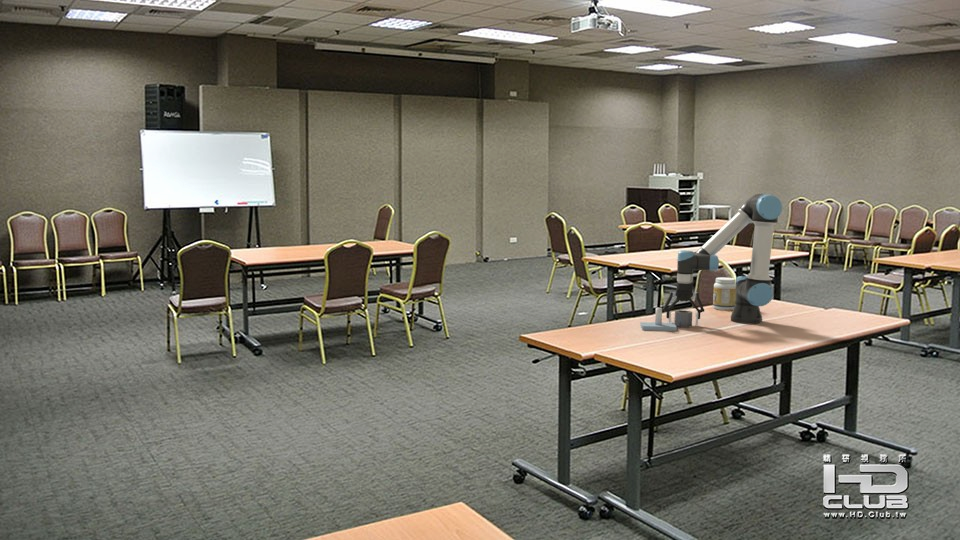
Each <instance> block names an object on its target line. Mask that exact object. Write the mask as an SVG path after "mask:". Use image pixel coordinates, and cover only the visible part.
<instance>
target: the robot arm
mask: <svg viewBox="0 0 960 540" xmlns="http://www.w3.org/2000/svg"><path fill="white" fill-rule="evenodd" d="M782 212H783V203H782V201H781V200H780V199H779V198H778V197H777V196H776V195H773V194H770V193H768V194H767V193H757V194H754V195H752V196H751V197H750V198H749V199H748V200H746V201H745V202H744V203H743V204H742V205H741V206H740V207H739V208H737V213H735V215H733V217H732V218H730V220H729V221H727V222H726V223H725V224H724V225H723V226H722V227H721V228H720V229H719V230H718V231H716V233H715V234H714V235H712V236H711V237H710V238H709V239H708V240H707V241H706V242H705V243H704V244H703V245H702V246H701V247H700V248H699V249H697V250H696V251H693V250H679V251H678V253H677V260H676V261H677V269H676V270H677V272H676V275H677V276H676V281H677V282H676V291H675V292H674V291H669V295H668V298H667V299H666V301H665V304H664V305H663V306H662V311H663V312H666V319H668V322H667V323H672V321H671V320H672V312H671V311H672V310H673V308H674V307H675V306H676V305H677V304H678V303H679V302H690V303H691V305H692V306H693V307H694V308H695V309H694V310H696V311H695V320H694V323H695V326H696V327H698V325H699V320H700V319H701V313H704V312H705V307H703V304H702V302H701V298H700V293H699V291H698V292H697V291H696V292H693V281H694V271H710V272H711V271H717V270H718V269H719V263H720V260H719V257H718V255H717V254H718V253H719V252H720V251H721V250H722V249H723V248H724V247H725V246H726V245H727V244H728V243H729V242H730V241H732V239H733V238H735V236H737V235H738V234H739V233H741V231H742V230H743V229H744V228H745V227H747V226H748V225H749V224H753V225H754V232H753V241H752V250H751V259H750V269H749V274H747V275H745V276H744V275H741V276H739V275H738V276H737V277H736V278H735V284H736V294H735V307H734V309H733V310H732V312H731V315H730V321H731V322H735V323H739V324H760V322H761V323H762V322H763V316H762V313H761V312H762V311H761V310H760V307H764V306H767V305H768V304H769V303H770V302H771V301H772V300H773V297H774V291H773V288H772V286H771V285H772V278H771V276H769V273H770V272H769V271H770V265H771V264H770V263H771V255H772V254H771V253H772V245H773V236H774V226H776V225H777V224H778V221H779V217H780V216H781V213H782ZM674 296H676V297H675V299H674V301H672V299H673V297H674ZM693 296H694V297H695V299H696V302H697V303H698V306H699V307H698V306H697V304H696V303H695V302H694V301H693V299H692V297H693ZM671 301H672V303H671ZM669 304H670V305H669ZM699 308H700V309H699Z"/></svg>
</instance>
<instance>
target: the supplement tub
mask: <svg viewBox="0 0 960 540" xmlns="http://www.w3.org/2000/svg"><path fill="white" fill-rule="evenodd" d="M735 294H736V278H733V277H727V276H726V277H721V276H720V277H719V276H718V277H716V278H715V282H714V284H713V294H712V295H713V296H712V297H713V298H712V299H713V300H712V307H713V309H714V310H719V311H733V309H734V307H735Z"/></svg>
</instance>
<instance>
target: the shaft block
mask: <svg viewBox="0 0 960 540" xmlns="http://www.w3.org/2000/svg"><path fill="white" fill-rule="evenodd" d="M662 321H663V307H656V308H655V320H654V322H647V321H646V322H645V321H644V322H643V321H640V328H641V330H642V331H651V332H652V331H657V332H658V331H659V332H662V331H663V332H677V331H678V330H677V326H676V325H675V324H674V322H671V323H668V322H662Z"/></svg>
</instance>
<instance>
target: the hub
mask: <svg viewBox="0 0 960 540" xmlns="http://www.w3.org/2000/svg"><path fill="white" fill-rule="evenodd" d="M673 319H674V320H673V321H674V322H673V323H674V324H675V325H676V327H678V328H691V327H693V311H692V310H687V309H686V310H685V309H683V310H674V317H673Z"/></svg>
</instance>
